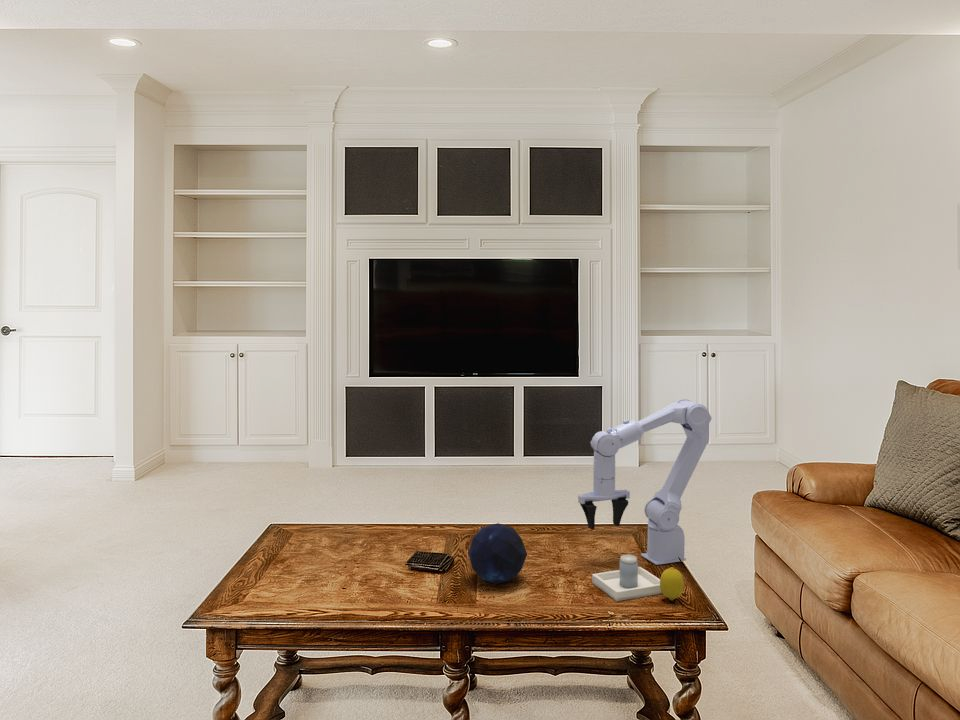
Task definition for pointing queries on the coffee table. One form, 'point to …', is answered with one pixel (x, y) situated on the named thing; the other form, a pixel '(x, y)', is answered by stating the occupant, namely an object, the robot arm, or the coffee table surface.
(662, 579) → the lemon
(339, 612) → the coffee table surface
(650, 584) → the tray
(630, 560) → the cylinder
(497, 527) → the decorative orb
